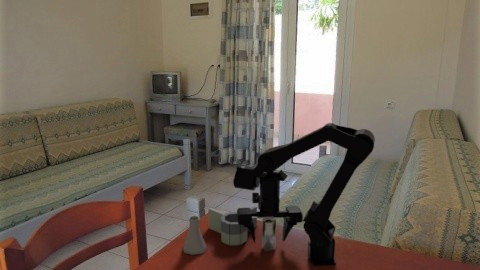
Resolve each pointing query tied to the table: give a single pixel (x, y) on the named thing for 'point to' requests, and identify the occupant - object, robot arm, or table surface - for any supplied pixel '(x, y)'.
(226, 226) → the grey hollow faceted fixture
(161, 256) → the table surface
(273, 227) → the pin
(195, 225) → the flask
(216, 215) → the pale green bracket
